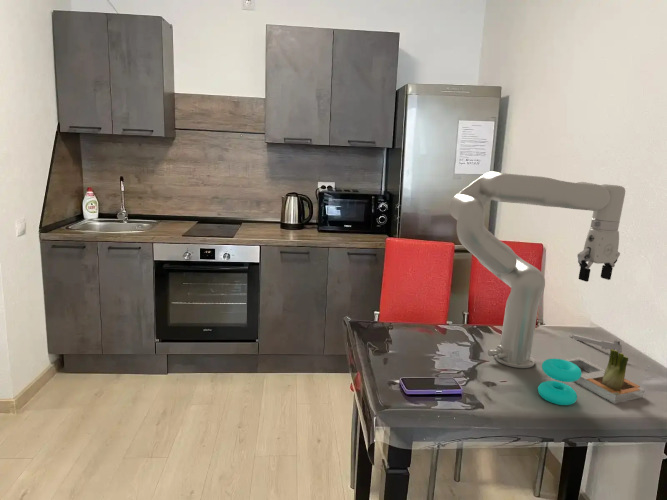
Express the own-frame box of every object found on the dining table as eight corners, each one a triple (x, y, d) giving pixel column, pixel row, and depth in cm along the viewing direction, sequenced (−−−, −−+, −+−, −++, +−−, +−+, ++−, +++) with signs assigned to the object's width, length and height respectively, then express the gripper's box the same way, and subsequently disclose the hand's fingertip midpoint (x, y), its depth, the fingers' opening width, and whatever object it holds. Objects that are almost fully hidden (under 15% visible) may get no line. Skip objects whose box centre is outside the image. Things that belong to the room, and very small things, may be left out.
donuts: (535, 357, 140) (564, 355, 143) (529, 390, 143) (558, 387, 146) (560, 374, 131) (591, 371, 134) (553, 408, 133) (584, 405, 136)
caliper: (620, 360, 169) (623, 342, 167) (617, 360, 168) (621, 343, 167) (570, 336, 187) (573, 320, 185) (568, 337, 186) (571, 321, 185)
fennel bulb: (623, 396, 142) (631, 357, 140) (604, 393, 143) (612, 354, 141) (616, 386, 148) (624, 349, 145) (598, 384, 149) (605, 346, 146)
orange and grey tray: (614, 403, 138) (615, 394, 138) (551, 368, 158) (552, 360, 157) (643, 397, 143) (645, 388, 143) (578, 364, 163) (580, 356, 162)
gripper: (595, 228, 146) (584, 284, 150) (635, 227, 153) (624, 281, 157) (573, 223, 153) (564, 277, 157) (613, 223, 160) (603, 274, 164)
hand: (594, 279), depth 157 cm, fingers open, 9 cm apart
